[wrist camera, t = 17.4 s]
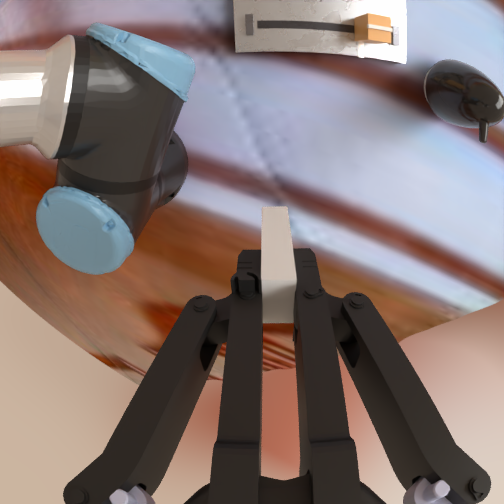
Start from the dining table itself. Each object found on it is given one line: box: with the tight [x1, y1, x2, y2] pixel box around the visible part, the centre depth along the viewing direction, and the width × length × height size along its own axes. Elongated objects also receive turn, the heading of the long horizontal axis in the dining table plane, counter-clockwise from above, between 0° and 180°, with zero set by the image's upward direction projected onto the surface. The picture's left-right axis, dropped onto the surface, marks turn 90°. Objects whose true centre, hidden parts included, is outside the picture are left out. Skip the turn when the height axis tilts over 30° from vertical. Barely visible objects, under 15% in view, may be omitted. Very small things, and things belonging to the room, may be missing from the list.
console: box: [233, 0, 406, 64], centre depth 30 cm, size 24×16×3 cm
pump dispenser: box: [424, 59, 504, 143], centre depth 31 cm, size 10×10×15 cm
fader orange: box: [354, 13, 393, 44], centre depth 29 cm, size 3×4×6 cm
